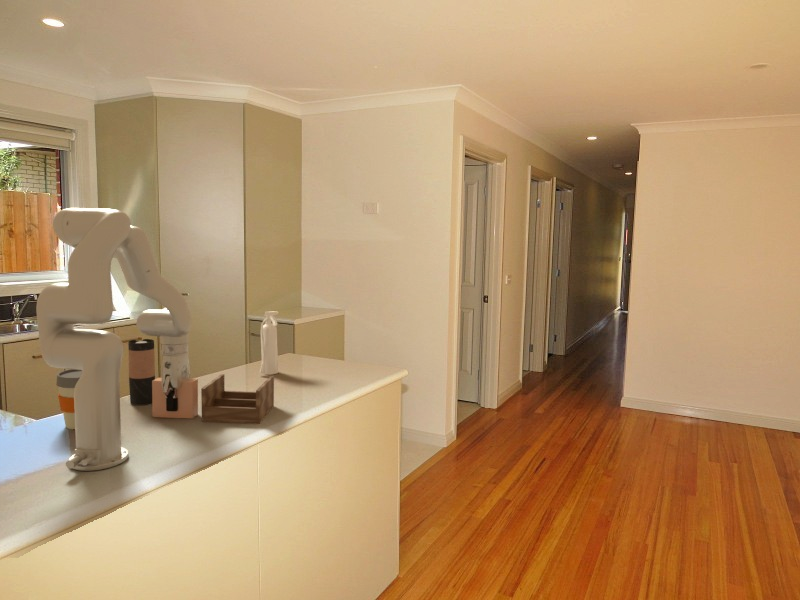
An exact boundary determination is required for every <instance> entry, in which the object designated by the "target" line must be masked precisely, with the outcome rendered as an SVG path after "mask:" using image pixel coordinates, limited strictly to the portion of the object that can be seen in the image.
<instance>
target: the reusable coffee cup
mask: <svg viewBox="0 0 800 600" xmlns="http://www.w3.org/2000/svg"><path fill="white" fill-rule="evenodd" d="M82 373H83V371H82V370H75V369H64V370H62V371H59V372H58V373H57V374H56V383H55V384H56V386H57V387H58V388H57V389H58V394H57V397H58V398H57V399H58V402H59V407H60V411H62V414H63V420H64V424H65V428H66V429H68V430H73V429H75V409H74V388H75V385H76V383H77V382H78V380H79V379H80V377H81V375H82Z"/></svg>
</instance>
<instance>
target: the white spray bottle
mask: <svg viewBox="0 0 800 600" xmlns="http://www.w3.org/2000/svg"><path fill="white" fill-rule="evenodd" d="M276 315H279V311H276V310H275V311H272V310H271V311H264V314H263V317H265V318H264V319H263V320H262V322H261V324H260V347H261V348H260V351H261V352H260V353H261V354H260V355H261V365H260V370H259V374H263V375H265V376H266V375H270V376H272V375H276V374H278V373H279V359H278V358H279V356H278V355H279V353H278V330H277V329H278V328H277V326H278V325H279V324H278V321H277V318H276Z"/></svg>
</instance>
